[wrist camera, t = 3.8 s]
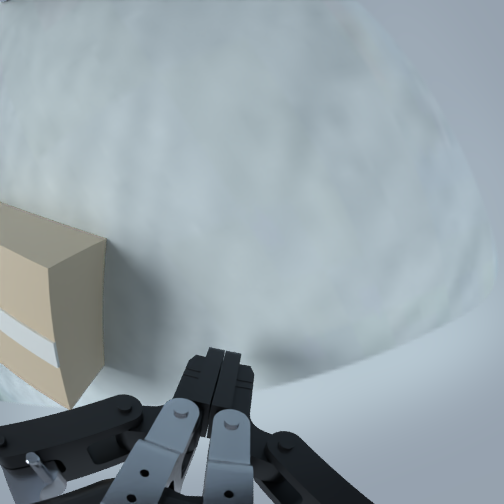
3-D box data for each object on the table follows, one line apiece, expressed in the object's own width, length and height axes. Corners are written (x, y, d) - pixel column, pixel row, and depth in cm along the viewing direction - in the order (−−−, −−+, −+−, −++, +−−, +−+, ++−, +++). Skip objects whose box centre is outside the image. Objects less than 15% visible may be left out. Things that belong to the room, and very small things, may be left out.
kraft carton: (-2, 199, 13) (-54, 214, 8) (109, 237, 14) (45, 269, 9) (6, 306, 16) (-34, 334, 11) (106, 362, 16) (69, 412, 11)
